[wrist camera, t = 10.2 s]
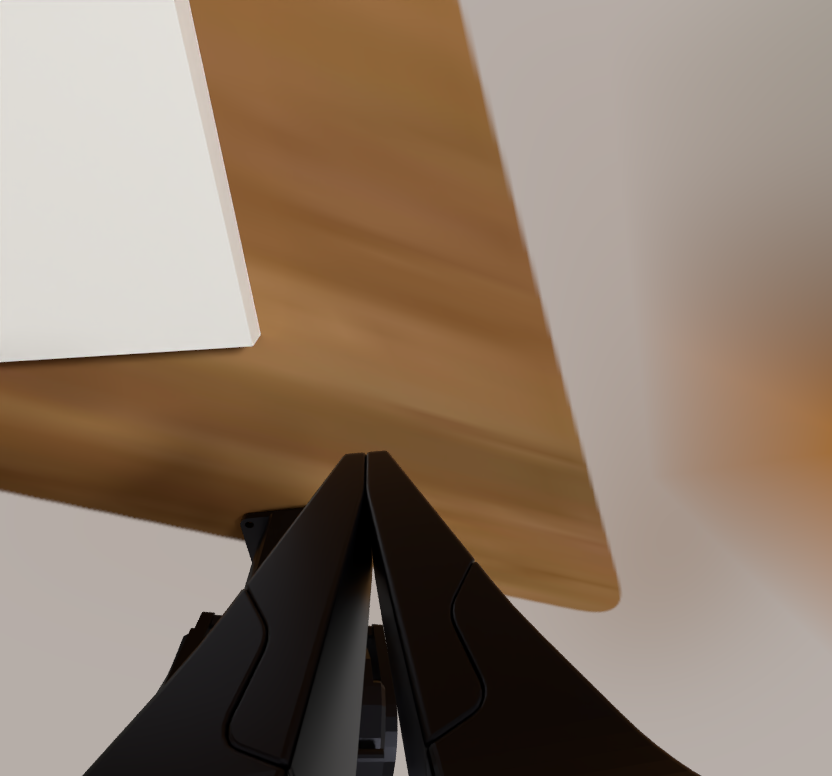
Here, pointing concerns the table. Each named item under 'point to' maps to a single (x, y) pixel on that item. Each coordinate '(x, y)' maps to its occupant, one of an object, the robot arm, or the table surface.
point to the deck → (113, 186)
